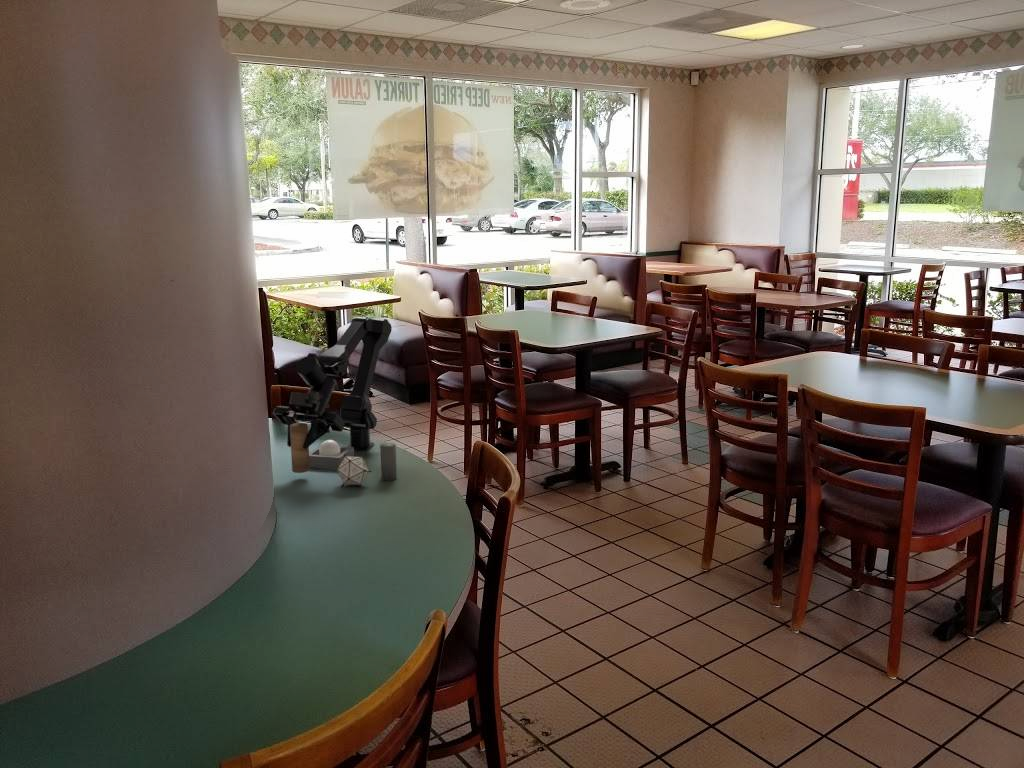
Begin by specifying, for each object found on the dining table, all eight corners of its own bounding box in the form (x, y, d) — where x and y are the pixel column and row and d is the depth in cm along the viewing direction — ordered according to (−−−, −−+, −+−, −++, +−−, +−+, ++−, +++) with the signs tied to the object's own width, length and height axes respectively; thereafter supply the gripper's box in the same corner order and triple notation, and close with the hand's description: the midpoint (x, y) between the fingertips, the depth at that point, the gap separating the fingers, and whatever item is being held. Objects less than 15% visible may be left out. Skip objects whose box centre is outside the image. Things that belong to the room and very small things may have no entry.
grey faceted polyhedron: (346, 498, 211) (328, 464, 213) (376, 483, 214) (358, 449, 216) (346, 492, 203) (328, 457, 205) (378, 476, 206) (359, 441, 207)
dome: (324, 457, 231) (323, 436, 230) (343, 458, 230) (342, 437, 229) (316, 463, 225) (315, 442, 224) (335, 464, 224) (334, 443, 223)
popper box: (320, 455, 233) (319, 444, 233) (354, 458, 232) (353, 447, 231) (305, 466, 224) (304, 455, 223) (340, 469, 222) (339, 457, 221)
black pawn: (384, 475, 218) (383, 442, 216) (398, 476, 217) (397, 443, 215) (379, 480, 214) (377, 446, 212) (393, 481, 213) (392, 447, 211)
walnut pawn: (296, 466, 217) (294, 422, 214) (312, 467, 216) (310, 423, 213) (289, 472, 212) (286, 427, 210) (305, 473, 212) (303, 428, 209)
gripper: (274, 375, 216) (250, 427, 208) (336, 381, 209) (313, 435, 202) (294, 398, 225) (271, 448, 217) (354, 404, 218) (333, 457, 211)
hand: (296, 447), depth 211 cm, fingers closed on walnut pawn, 4 cm apart
